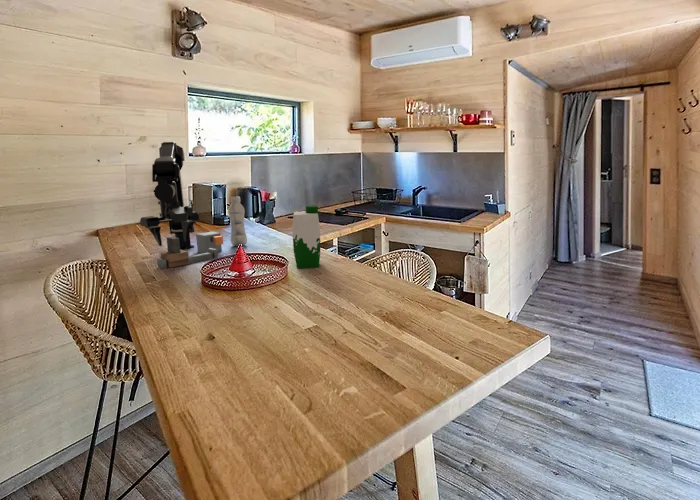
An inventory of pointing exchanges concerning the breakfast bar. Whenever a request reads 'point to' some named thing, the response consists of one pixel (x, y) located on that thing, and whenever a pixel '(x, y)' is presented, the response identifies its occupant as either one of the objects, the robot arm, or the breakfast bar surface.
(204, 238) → the block
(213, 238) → the plunger
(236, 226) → the plastic bottle
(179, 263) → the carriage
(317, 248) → the milk carton
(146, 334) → the breakfast bar surface
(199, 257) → the rail
